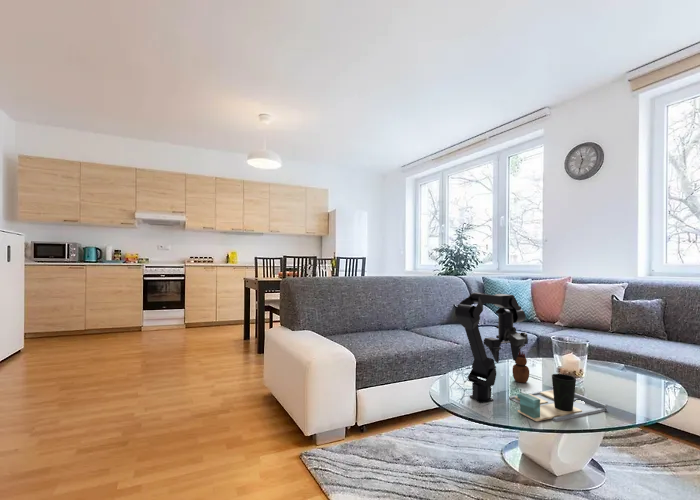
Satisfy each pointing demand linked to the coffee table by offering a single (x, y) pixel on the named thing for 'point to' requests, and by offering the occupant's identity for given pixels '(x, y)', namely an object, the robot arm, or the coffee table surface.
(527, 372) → the wooden figurine
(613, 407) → the coffee table surface
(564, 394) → the cup
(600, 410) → the lane board
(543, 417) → the teal block on board
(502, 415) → the coffee table surface
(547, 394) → the broken strip
